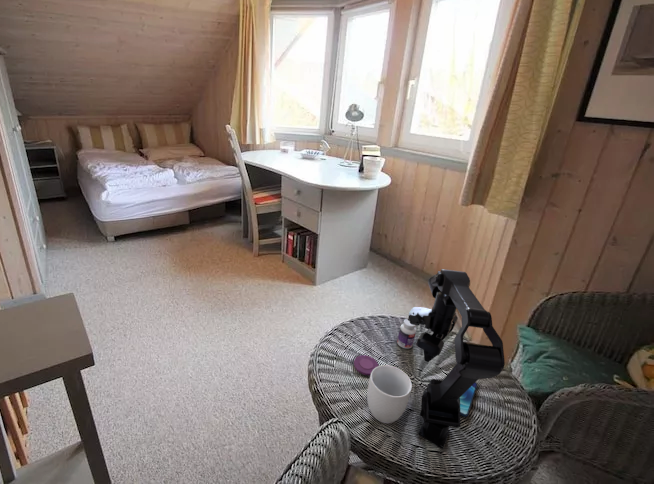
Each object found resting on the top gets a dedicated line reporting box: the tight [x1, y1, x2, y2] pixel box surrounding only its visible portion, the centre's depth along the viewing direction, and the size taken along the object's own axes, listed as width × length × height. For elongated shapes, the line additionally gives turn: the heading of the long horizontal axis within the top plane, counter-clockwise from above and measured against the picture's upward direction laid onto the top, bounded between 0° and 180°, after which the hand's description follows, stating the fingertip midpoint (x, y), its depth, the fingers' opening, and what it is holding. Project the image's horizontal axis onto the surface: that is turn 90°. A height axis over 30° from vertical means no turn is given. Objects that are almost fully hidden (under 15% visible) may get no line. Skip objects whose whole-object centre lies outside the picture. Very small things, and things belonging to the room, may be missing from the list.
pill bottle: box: [396, 318, 417, 350], centre depth 125 cm, size 5×5×10 cm
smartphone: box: [459, 382, 478, 418], centre depth 108 cm, size 8×1×15 cm
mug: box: [366, 364, 413, 424], centre depth 100 cm, size 15×11×13 cm
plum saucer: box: [353, 354, 380, 377], centre depth 117 cm, size 8×8×1 cm
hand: (431, 352), depth 106 cm, fingers open, 9 cm apart
